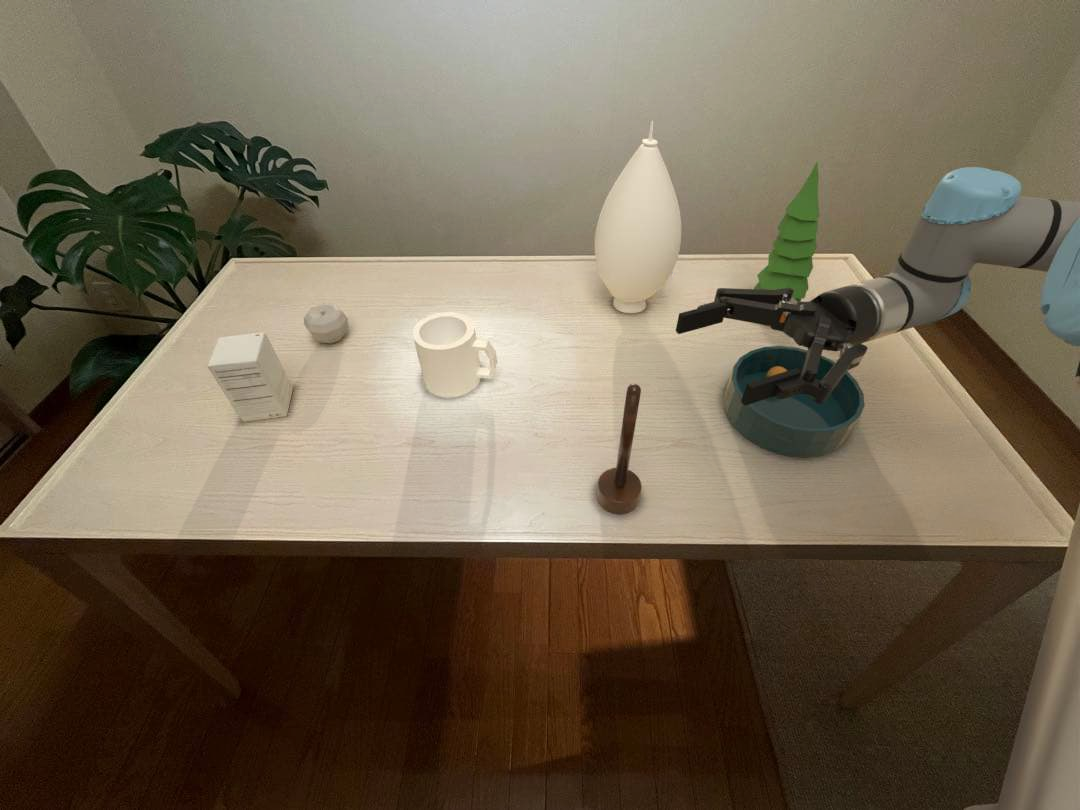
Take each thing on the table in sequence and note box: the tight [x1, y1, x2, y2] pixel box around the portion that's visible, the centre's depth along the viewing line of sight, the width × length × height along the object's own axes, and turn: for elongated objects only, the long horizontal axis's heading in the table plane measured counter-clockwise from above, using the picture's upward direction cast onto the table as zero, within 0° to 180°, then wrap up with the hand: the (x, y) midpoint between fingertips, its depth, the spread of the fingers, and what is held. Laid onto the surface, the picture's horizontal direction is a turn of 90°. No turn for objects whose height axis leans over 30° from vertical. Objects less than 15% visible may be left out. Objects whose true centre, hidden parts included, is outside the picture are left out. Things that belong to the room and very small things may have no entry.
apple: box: [303, 303, 349, 344], centre depth 100 cm, size 8×8×7 cm
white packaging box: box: [206, 331, 294, 423], centre depth 85 cm, size 7×7×13 cm
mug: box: [412, 311, 498, 399], centre depth 89 cm, size 14×10×11 cm
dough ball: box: [766, 366, 787, 378], centre depth 88 cm, size 4×4×4 cm
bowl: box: [723, 345, 866, 459], centre depth 84 cm, size 19×20×6 cm
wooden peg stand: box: [596, 383, 642, 515], centre depth 67 cm, size 6×6×22 cm
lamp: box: [594, 120, 682, 314], centre depth 96 cm, size 16×16×35 cm
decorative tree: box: [753, 161, 820, 323], centre depth 93 cm, size 10×9×30 cm
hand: (709, 356), depth 61 cm, fingers open, 13 cm apart
